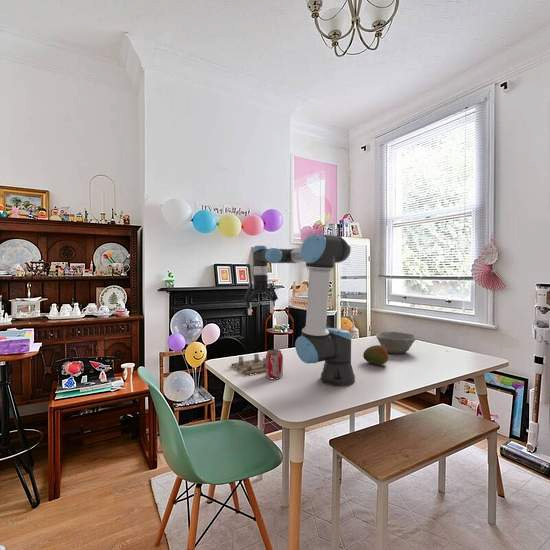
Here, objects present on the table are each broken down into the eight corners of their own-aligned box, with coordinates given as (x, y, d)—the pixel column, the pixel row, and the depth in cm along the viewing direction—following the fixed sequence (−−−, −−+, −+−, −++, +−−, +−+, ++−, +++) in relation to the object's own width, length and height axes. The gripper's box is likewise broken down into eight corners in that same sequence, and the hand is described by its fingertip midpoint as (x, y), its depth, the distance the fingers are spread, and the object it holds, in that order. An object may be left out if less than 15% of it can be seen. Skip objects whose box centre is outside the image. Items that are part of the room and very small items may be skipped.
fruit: (388, 368, 164) (388, 349, 164) (362, 366, 168) (362, 347, 168) (388, 362, 175) (388, 343, 175) (363, 360, 179) (364, 342, 179)
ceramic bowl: (367, 349, 201) (367, 333, 200) (396, 345, 210) (396, 330, 210) (395, 359, 181) (395, 341, 180) (424, 354, 190) (425, 337, 190)
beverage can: (286, 376, 153) (286, 351, 153) (274, 381, 147) (274, 354, 147) (273, 373, 158) (273, 348, 158) (262, 377, 152) (262, 351, 152)
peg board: (276, 370, 163) (275, 359, 163) (247, 375, 154) (247, 364, 154) (258, 361, 178) (258, 351, 178) (231, 366, 169) (231, 356, 169)
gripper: (276, 274, 186) (276, 311, 187) (236, 274, 173) (237, 314, 174) (283, 274, 180) (284, 312, 181) (242, 275, 167) (243, 316, 167)
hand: (261, 313), depth 177 cm, fingers open, 13 cm apart
